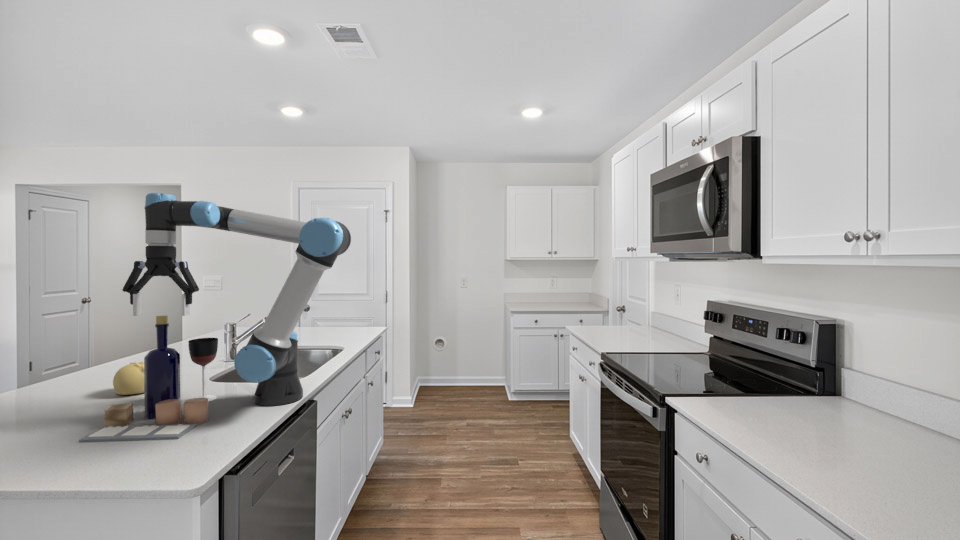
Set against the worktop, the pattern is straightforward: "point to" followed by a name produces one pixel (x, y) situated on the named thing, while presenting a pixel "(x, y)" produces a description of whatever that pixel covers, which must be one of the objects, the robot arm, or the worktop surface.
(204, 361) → the wineglass
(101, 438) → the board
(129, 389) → the yellow rounded lump
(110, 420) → the oak box
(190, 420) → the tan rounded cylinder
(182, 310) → the robot arm
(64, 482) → the worktop surface
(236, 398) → the worktop surface
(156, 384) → the bottle
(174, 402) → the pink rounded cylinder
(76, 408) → the worktop surface
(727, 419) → the worktop surface
